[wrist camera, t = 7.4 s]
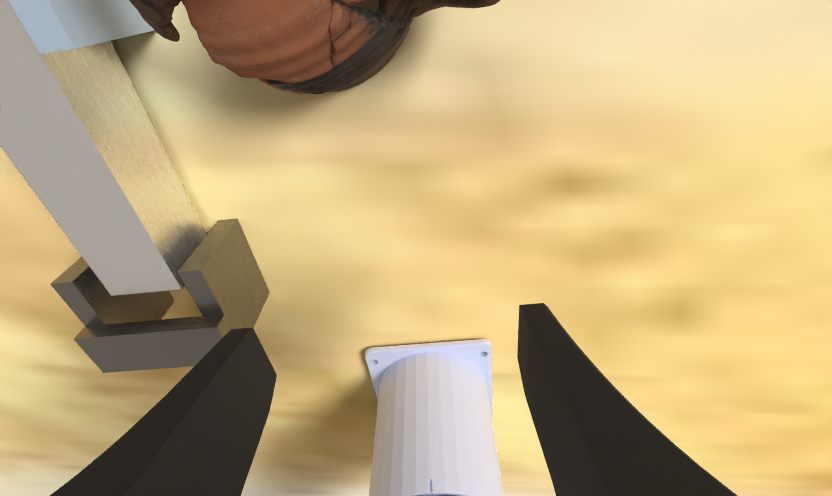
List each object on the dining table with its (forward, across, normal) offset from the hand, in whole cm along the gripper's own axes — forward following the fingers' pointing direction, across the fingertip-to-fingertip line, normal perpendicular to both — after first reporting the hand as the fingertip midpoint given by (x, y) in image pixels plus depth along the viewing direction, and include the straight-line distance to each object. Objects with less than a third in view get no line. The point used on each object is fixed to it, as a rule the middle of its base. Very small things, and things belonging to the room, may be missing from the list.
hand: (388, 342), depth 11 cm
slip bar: (+10, +12, -4) cm, 16 cm away
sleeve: (+10, +12, +4) cm, 16 cm away
